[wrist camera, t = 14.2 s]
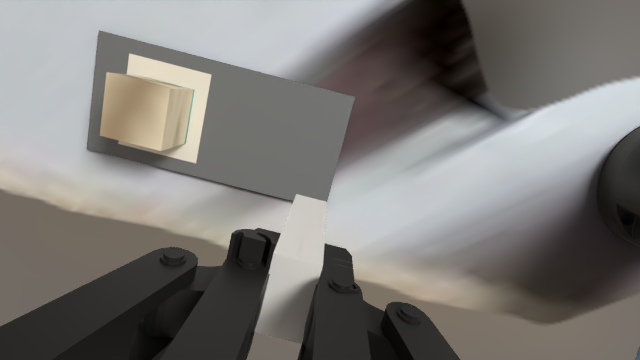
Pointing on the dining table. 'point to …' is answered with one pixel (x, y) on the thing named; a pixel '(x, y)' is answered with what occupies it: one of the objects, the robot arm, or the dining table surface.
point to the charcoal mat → (232, 121)
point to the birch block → (145, 111)
